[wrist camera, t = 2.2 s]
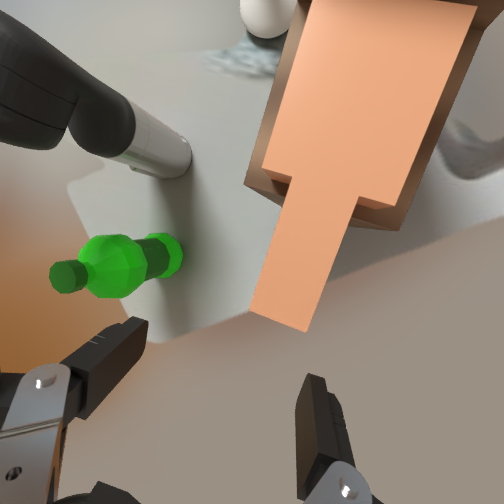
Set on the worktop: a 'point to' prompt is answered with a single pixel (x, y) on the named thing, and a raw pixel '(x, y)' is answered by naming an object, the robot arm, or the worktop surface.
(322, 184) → the coral tab brick
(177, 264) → the plastic bottle
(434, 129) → the walnut step stand
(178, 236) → the worktop surface
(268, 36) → the flower in vase
